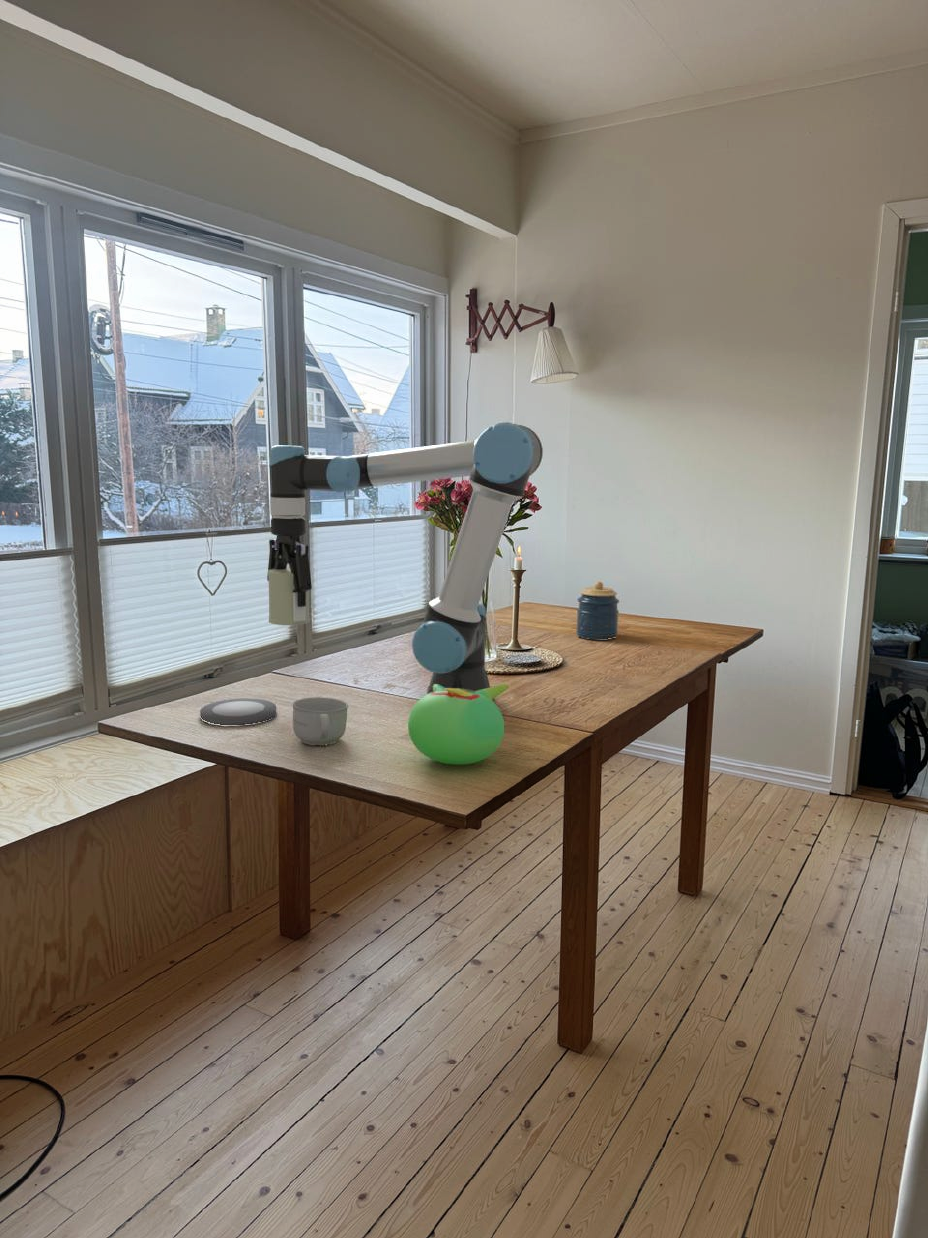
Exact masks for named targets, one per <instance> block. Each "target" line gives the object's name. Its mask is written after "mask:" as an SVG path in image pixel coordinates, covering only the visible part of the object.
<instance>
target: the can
mask: <svg viewBox="0 0 928 1238" xmlns="http://www.w3.org/2000/svg"><path fill="white" fill-rule="evenodd" d="M267 575H268V577H269V581H268V623H269V624H273V625H278V626H299V625H300V626H301V625H305V624H308V623H310V622H311V617H310V616H311V615H310V590H307V592H306V620H305V621H296V622H295V621H293V590H294V589H295V587H294V583H293V573H291V570H290V567H287V568H286V569H271V570H268V569H267Z"/></svg>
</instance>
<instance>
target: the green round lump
mask: <svg viewBox="0 0 928 1238" xmlns="http://www.w3.org/2000/svg"><path fill="white" fill-rule="evenodd" d="M509 687H510V686H509V685H508V684H498V685H494V686H490V687H489V688H486V689H482V690H478V691H473V690H469V689H459V688H444V687H443V686H441V685H439V684H434V685H433V692H431V693H429V694H427V693H426V694H425V695H424V696H422V697H421V698H420V699H419V700H418V701H416V703H415V704H414V706H413V707H412V709H411V711H410V714H409V718H408V722H407V723H408V725H407V726H408V727H407V728H408V730H407V731H408V734H409V738H410V741H411V742H412V744H413V745H414V747H415V748H416V749H417V750H418V752H420V753H421V754H423V755H424V756H425V757H427V758H428V759H431V760H433V761H435V762H439V763H442V764H446V765H454V766H455V765H457V766H462V765H471V764H475V763H479V762H481V761H484V760H486V759H488V758H489V757H491V756H492V755H493V754H494V753H495V752H496V751H497V750H498V748H499V747H500V745H501V743H502V742H503V741H502V740H503V737H504V736H505V721H504V717H503V715H502V714H503V713H502V712H501V710H500V708H499V706H498V705H497V704H496V703H495V702H494V701H493V700H494V699H495V698H497V697H499V696H500V695H501V694H503V693H504V692H506V691H507V690H508V689H509Z"/></svg>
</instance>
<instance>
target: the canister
mask: <svg viewBox="0 0 928 1238" xmlns="http://www.w3.org/2000/svg"><path fill="white" fill-rule="evenodd" d="M580 594H581V596H579V597H578V598H577V602H578V608H577V610H576V611H577V619H576V621H577V623H576V629H575V630H576V636H577V635H578V636H579V637H578V636H577V637H578V638H580V637H583V638H589V639H608V638H613V637H616V636H617V637H618V634H619V632H618V631H619V629H618V623H619V622H618V621H619V612H620V610H619V609H618V604H619V602H620V599H618V598H617V596H616V595H617V594H618V593H617V591H615V590H613V588H611V587H605V586H604V584H603V582H602V581H598V580H597V581H596V582H595V584H594V586H589V587H584V589H583V590H580ZM617 637H616V638H617ZM583 638H582V639H583Z"/></svg>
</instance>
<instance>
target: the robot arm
mask: <svg viewBox="0 0 928 1238" xmlns="http://www.w3.org/2000/svg"><path fill="white" fill-rule="evenodd" d="M543 450H544V449H543V445H542V442H541V439H540V438H539V436H538V435H537V433H536V432H535V431H534V430H533V429H531V428H530V427H527V426H525V425H521V424H517V423H512V422H511V423H510V422H499V423H495V424H494V425H493V424H492V425H491V426H489V427H488V428H486V429H485V430H483V432H481V433H480V434H479V436H478V438H476V439H474V440H473V439H472V440H468V441H466V440H465V441H460V442H450V443H444V444H437V445H436V444H435V445H427V446H426V445H425V446H420V447H411V448H403V449H402V448H401V449H395V450H388V451H387V450H386V451H378V452H371V453H361V454H356V455H355V454H354V455H309V454H306V451H305V447H304V446H302V445H279V444H278V445H273V446H272V447H271V448H270V450H269V451H270V452H269V465H268V467H269V468H268V469H269V482H270V495H269V503H270V504H269V507H270V508H269V509H270V512H269V513H270V515H271V516H273V517H271V518H270V534H272V535H274V536H276V538H272V539H269V541H268V543H269V552H268V553H269V554H268V555H269V556H268V563H267V564H268V567H267V571H268V570H271V569H286V568H288V566H289V568H290V570H291V573H293V583H294V587H295V589H294V590H293V621H295V622H296V621H305V620H306V592H307V590H309V591H310V590H312V589H313V587H312V586H313V585H312V579H311V578H312V577H311V570H310V568H311V567H310V561H309V560H310V559H309V545H308V544H302V542H301V536H303V535H305V534H306V519H305V518H304V516H305V515H306V505H307V502H306V491H317V492H318V491H321V492H336V493H346V492H354V491H355V490H361V489H364V488H365V489H366V488H373V487H381V486H391V485H398V484H399V485H400V484H408V483H417V482H426V481H437V480H444V479H451V478H452V479H453V478H455V479H456V478H462V477H469V478H468V481H469V483H470V485H471V487H472V493H471V496H470V499H469V502H468V505H467V508H466V511H465V514H464V517H463V521H462V524H461V526H460V530H459V532H458V536H457V538H456V542H455V545H454V548H453V552H452V554H451V557H450V561H449V563H448V567H447V569H446V573H445V576H444V578H443V583H442V585H441V589H440V591H439V595H438V596H437V597H436V598H433V599H431V600H430V601H429V602H428V606H427V607H426V608H427V609H426V612H425V614H424V618H423V620H422V624H420V625H419V627H418V628H417V629H416V631H415V632H414V634H413V638H412V641H411V648H412V653H413V656H414V657H415V659H416V661H417V662H418V664H419V665H420V666H421V667H422V668H424V669H425V670H427V671H429V672H431V674H432V675H431V679H430V682H429V685H428V687H427V690H426V695H427V694H429V693H431V692H433V685H434V684H439V685H441V686H443V687H444V688H459V689H469V690H473V691H478V690H482V689H486V688H489V687H491V685H490V681H489V677H488V673H487V670H486V665H485V664H486V661H485V659H486V629H487V627H486V625H487V624H486V623H487V622H486V621H487V614H486V613H487V611H486V607H485V605H484V604H482V603H480V601H481V598H482V595H483V593H484V590H485V589H484V588H485V586H486V583H487V580H488V577H489V574H490V571H491V569H492V566H493V562H494V559H495V556H496V553H497V551H498V547H499V545H500V542H501V538H502V535H503V532H504V530H505V527H506V524H507V521H508V517H509V514H510V512H511V508H512V505H513V504H514V503H515V502H517V501H519V500H520V499H522V498H523V497H524V493H525V490H526V488H527V485H528V481H529V479H530V477H531V476H532V475H533V474H534V473H535V472H536V471H537V469H538V468H539V467H540V465H541V462H542V459H543V454H544V453H543V452H544V451H543ZM266 580H267V582H269V577H268V574H267V577H266Z"/></svg>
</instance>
